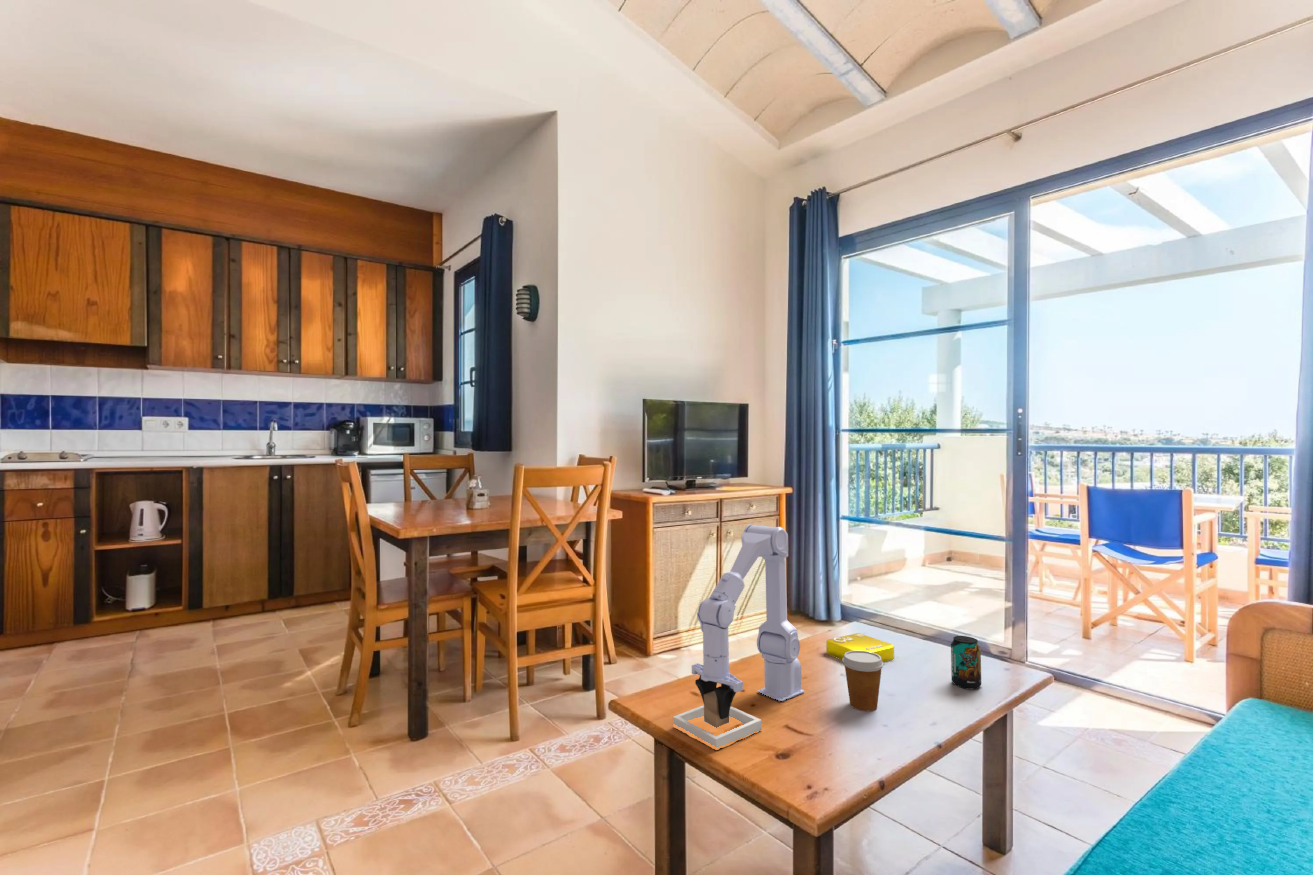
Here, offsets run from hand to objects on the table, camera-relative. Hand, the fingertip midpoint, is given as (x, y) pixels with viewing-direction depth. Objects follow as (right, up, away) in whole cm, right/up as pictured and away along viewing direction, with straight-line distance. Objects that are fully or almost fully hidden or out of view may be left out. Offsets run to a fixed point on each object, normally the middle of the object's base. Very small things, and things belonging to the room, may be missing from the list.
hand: (716, 714), depth 136 cm
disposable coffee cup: (+37, -3, +11) cm, 39 cm away
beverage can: (+68, -3, +24) cm, 72 cm away
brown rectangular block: (0, -2, 0) cm, 2 cm away
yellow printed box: (+48, -4, +47) cm, 67 cm away
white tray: (0, -3, 0) cm, 3 cm away
